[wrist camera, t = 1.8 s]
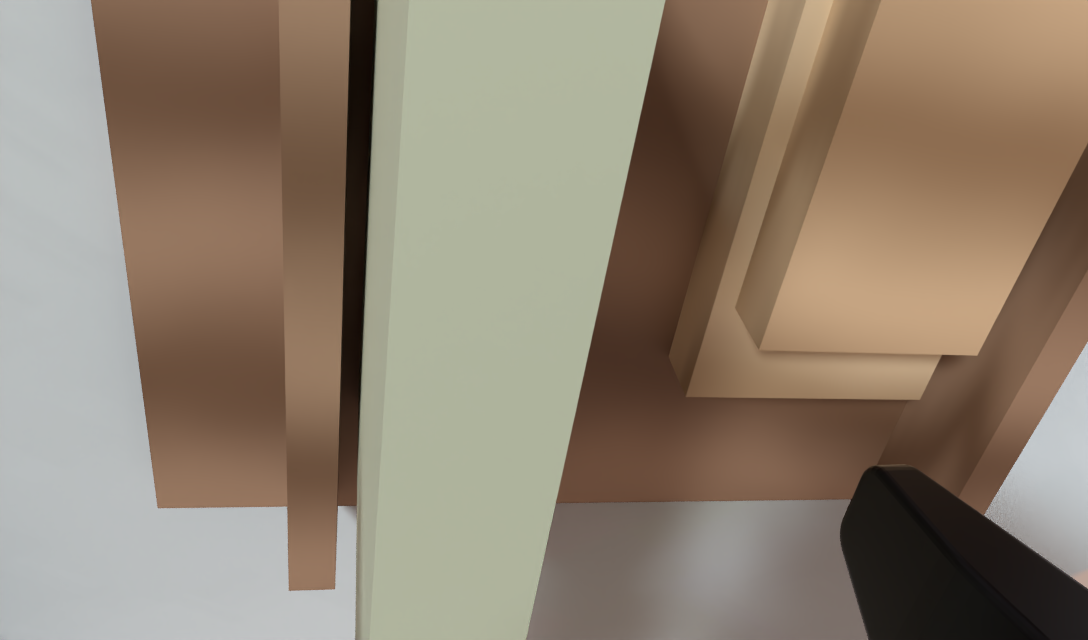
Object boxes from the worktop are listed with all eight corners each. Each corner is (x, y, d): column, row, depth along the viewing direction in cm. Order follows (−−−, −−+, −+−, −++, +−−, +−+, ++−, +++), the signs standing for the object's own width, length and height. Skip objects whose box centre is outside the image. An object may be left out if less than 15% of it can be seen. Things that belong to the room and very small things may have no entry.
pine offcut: (891, 361, 23) (919, 399, 22) (668, 356, 22) (685, 397, 21) (1101, -100, 17) (1156, -82, 16) (809, -145, 16) (845, -128, 15)
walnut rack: (906, 473, 28) (976, 580, 24) (165, 478, 23) (132, 610, 20) (1354, -402, 16) (1605, -417, 13) (17, -731, 11) (-120, -882, 8)
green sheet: (426, 401, 22) (467, 908, 13) (357, 401, 21) (351, 920, 13) (495, -304, 14) (717, -232, 5) (387, -323, 14) (426, -281, 5)
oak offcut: (941, 315, 21) (976, 355, 19) (735, 307, 20) (758, 350, 18) (1118, -56, 16) (1178, -33, 15) (862, -91, 15) (904, -69, 14)
